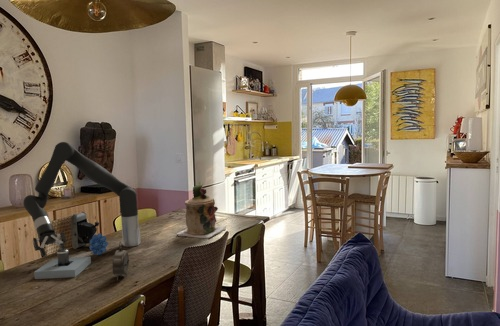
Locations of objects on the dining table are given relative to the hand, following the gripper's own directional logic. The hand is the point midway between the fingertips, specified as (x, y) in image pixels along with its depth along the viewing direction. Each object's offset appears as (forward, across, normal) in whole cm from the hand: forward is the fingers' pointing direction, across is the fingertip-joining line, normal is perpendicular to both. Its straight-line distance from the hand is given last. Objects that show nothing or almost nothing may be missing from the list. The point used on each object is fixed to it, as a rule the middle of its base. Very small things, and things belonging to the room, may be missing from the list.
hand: (54, 253), depth 181 cm
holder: (+13, 0, -4) cm, 13 cm away
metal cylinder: (+12, 0, -4) cm, 13 cm away
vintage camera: (-8, +25, +17) cm, 31 cm away
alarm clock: (+34, +13, -25) cm, 45 cm away
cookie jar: (+14, +83, -5) cm, 84 cm away
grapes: (+6, +22, +3) cm, 23 cm away
